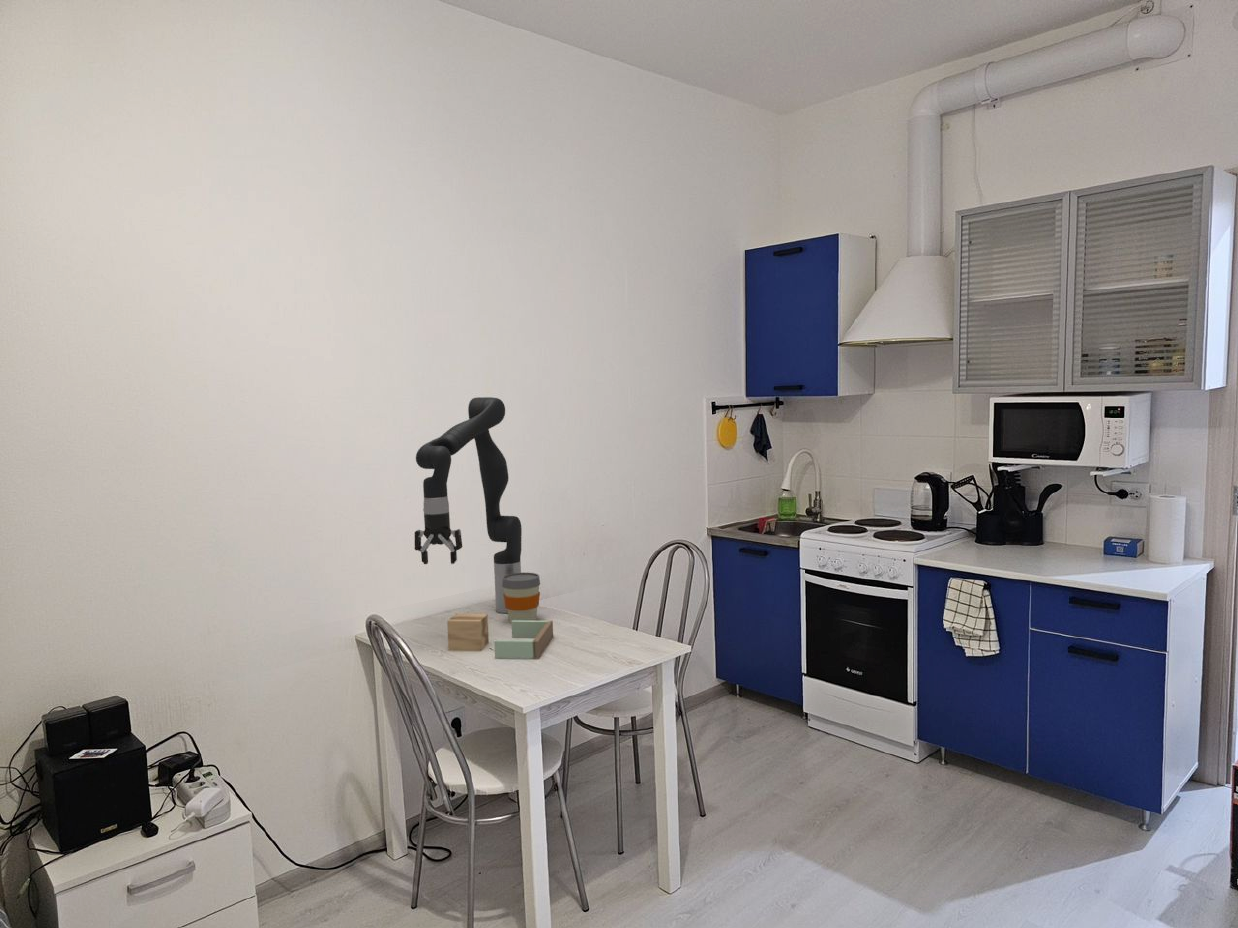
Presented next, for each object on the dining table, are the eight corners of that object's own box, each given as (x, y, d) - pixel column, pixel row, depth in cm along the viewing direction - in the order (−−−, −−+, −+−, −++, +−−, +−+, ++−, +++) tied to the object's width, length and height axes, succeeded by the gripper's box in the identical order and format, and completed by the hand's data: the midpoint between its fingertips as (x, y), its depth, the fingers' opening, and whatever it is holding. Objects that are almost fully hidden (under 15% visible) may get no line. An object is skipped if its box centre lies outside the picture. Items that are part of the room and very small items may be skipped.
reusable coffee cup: (501, 617, 276) (499, 574, 274) (538, 614, 279) (536, 570, 278) (506, 627, 264) (504, 582, 262) (544, 623, 267) (542, 579, 266)
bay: (513, 635, 255) (512, 620, 255) (553, 636, 253) (552, 620, 253) (494, 658, 234) (494, 641, 234) (538, 658, 233) (537, 641, 232)
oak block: (457, 642, 251) (455, 613, 250) (488, 642, 249) (487, 613, 249) (448, 650, 243) (447, 621, 242) (481, 650, 241) (479, 621, 241)
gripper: (462, 508, 251) (465, 560, 252) (418, 509, 252) (420, 561, 254) (455, 512, 243) (458, 566, 245) (409, 513, 245) (412, 566, 246)
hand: (439, 563), depth 249 cm, fingers open, 8 cm apart
